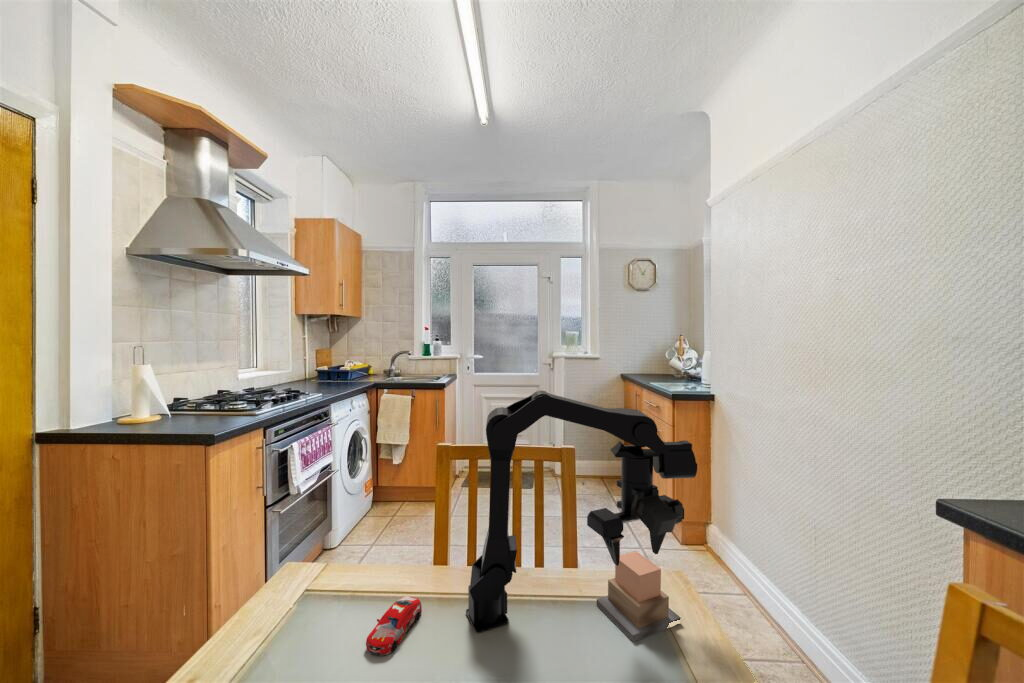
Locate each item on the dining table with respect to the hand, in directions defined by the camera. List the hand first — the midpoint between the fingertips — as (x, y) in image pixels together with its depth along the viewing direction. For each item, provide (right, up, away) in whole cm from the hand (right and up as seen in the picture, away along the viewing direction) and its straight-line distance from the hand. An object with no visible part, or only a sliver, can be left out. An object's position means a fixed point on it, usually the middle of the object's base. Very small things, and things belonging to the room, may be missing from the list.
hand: (636, 558), depth 87 cm
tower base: (0, -11, +1) cm, 11 cm away
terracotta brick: (0, -6, 0) cm, 6 cm away
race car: (-45, -12, -3) cm, 47 cm away
